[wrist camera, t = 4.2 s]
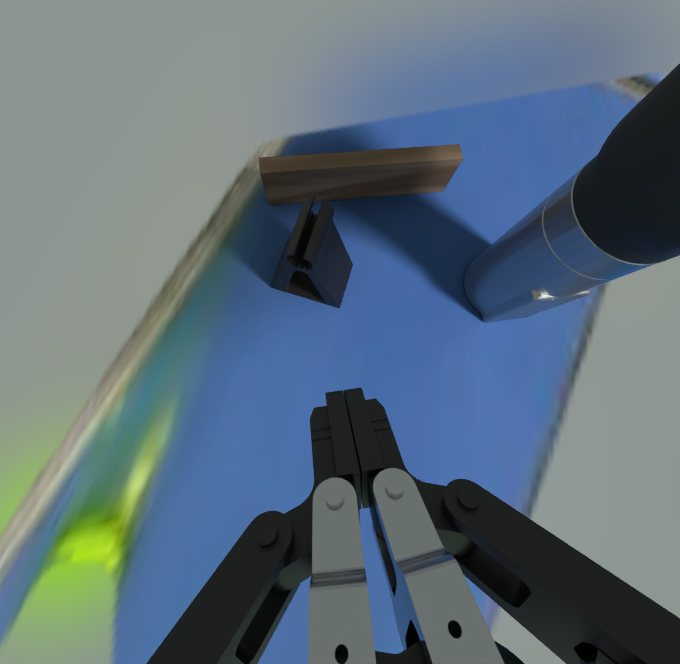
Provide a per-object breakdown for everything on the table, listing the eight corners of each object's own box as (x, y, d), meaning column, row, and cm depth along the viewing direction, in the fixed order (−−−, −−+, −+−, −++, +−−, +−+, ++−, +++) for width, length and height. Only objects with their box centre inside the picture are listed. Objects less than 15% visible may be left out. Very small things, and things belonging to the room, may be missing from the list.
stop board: (442, 191, 42) (463, 158, 36) (269, 205, 40) (260, 173, 34) (440, 178, 42) (459, 144, 36) (267, 191, 40) (258, 157, 34)
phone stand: (352, 266, 39) (367, 212, 27) (339, 308, 38) (348, 271, 26) (286, 245, 39) (271, 182, 27) (270, 287, 37) (248, 240, 26)
